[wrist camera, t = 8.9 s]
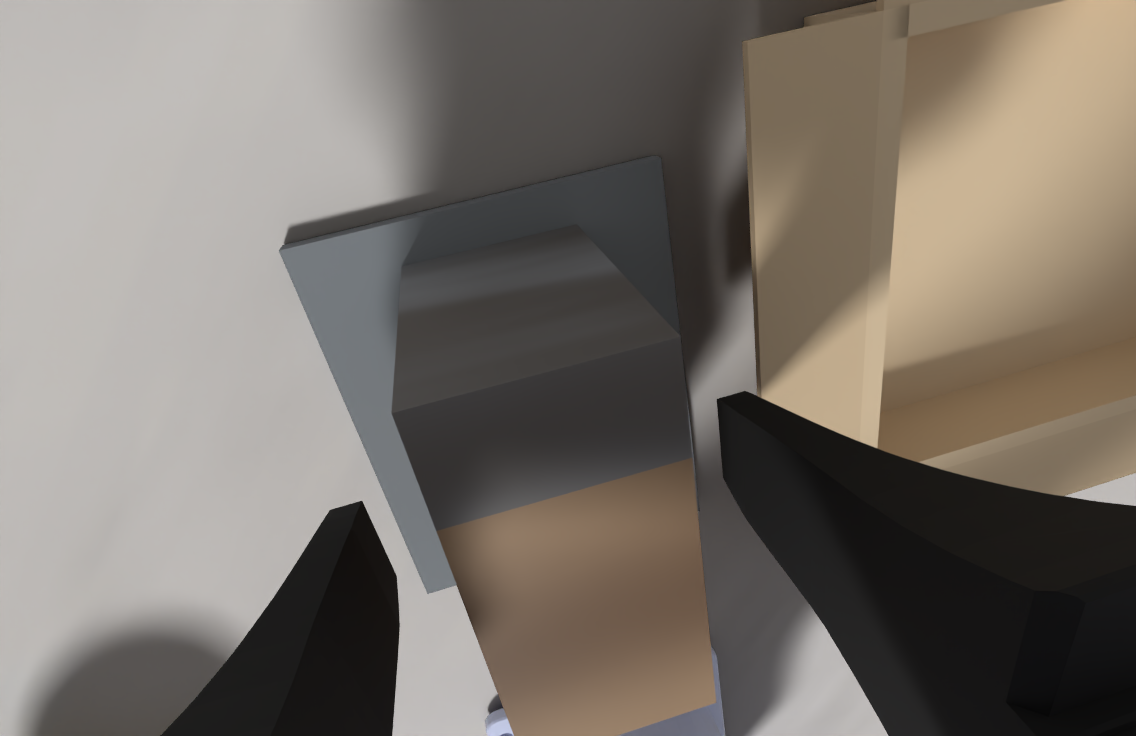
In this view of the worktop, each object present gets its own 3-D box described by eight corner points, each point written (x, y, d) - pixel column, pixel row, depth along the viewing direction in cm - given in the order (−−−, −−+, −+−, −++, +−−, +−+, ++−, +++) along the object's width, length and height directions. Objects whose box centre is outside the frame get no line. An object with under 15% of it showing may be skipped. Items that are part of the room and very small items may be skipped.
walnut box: (624, 503, 17) (716, 702, 12) (491, 543, 17) (525, 766, 12) (576, 224, 13) (680, 337, 8) (401, 266, 13) (392, 413, 8)
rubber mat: (694, 502, 18) (699, 510, 18) (427, 582, 17) (427, 593, 17) (654, 155, 13) (661, 158, 13) (282, 244, 13) (279, 250, 12)
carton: (1227, 374, 21) (1322, 412, 19) (728, 529, 19) (769, 591, 17) (1478, -268, 13) (1689, -331, 11) (678, -109, 11) (740, -148, 9)
